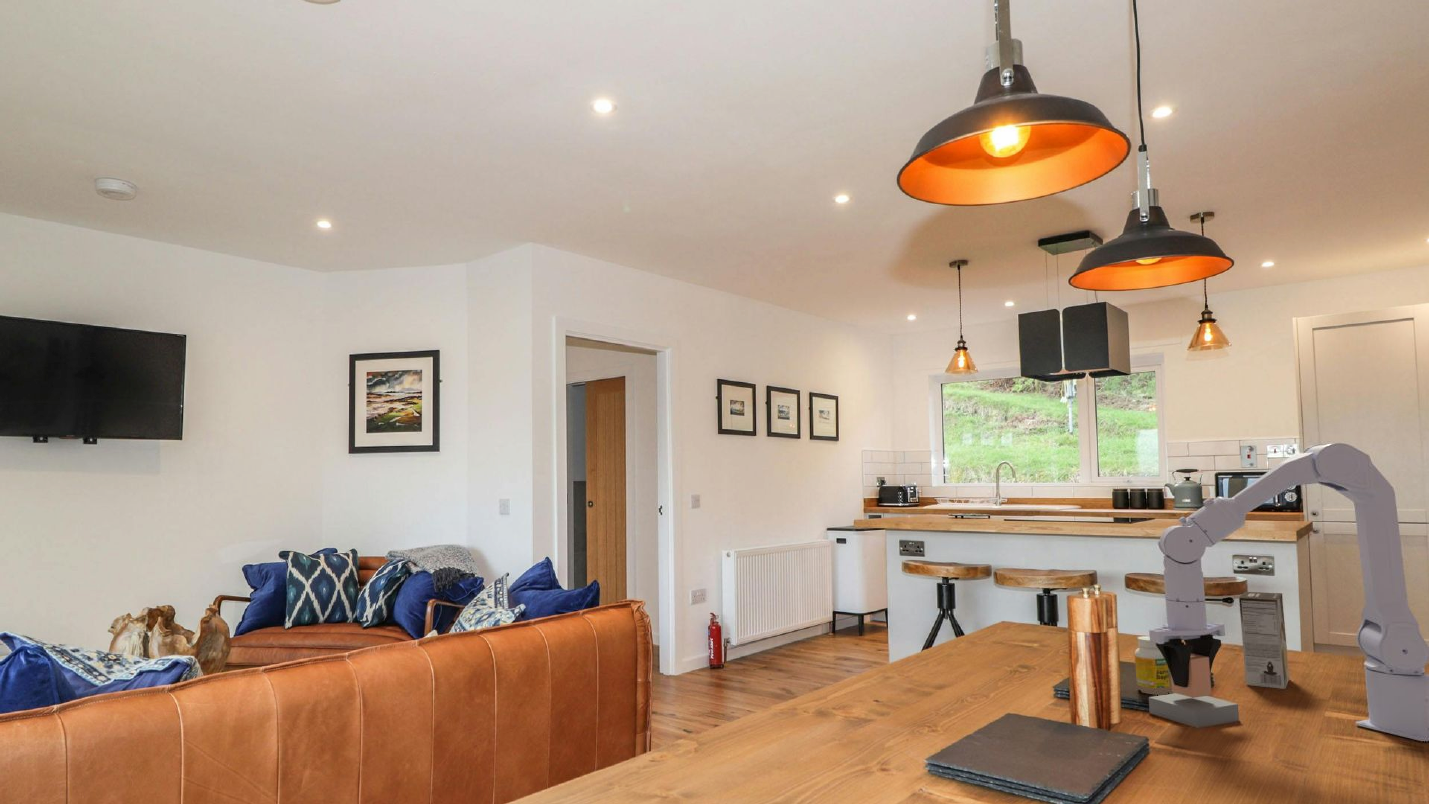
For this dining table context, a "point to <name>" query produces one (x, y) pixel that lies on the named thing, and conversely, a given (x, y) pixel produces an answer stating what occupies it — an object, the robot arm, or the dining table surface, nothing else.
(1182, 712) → the slate block
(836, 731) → the dining table surface
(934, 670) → the dining table surface
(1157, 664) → the supplement bottle
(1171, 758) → the dining table surface
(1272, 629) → the coffee box
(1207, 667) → the terracotta block
